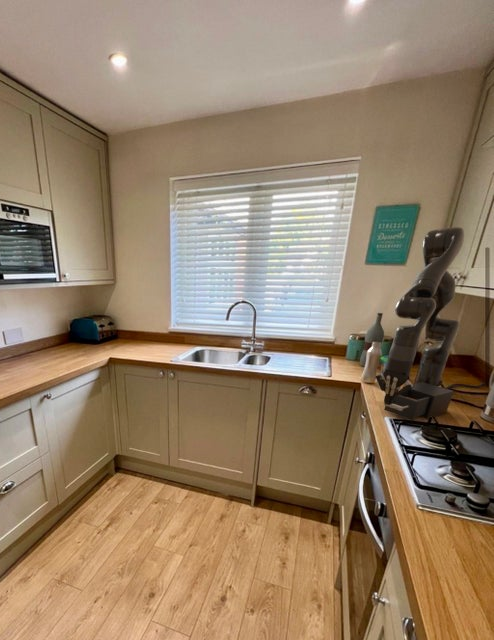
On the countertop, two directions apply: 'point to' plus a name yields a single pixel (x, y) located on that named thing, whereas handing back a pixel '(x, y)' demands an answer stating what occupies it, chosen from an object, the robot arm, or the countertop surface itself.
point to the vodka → (372, 337)
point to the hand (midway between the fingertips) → (387, 404)
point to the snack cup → (383, 363)
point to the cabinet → (434, 398)
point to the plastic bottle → (372, 363)
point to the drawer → (409, 405)
